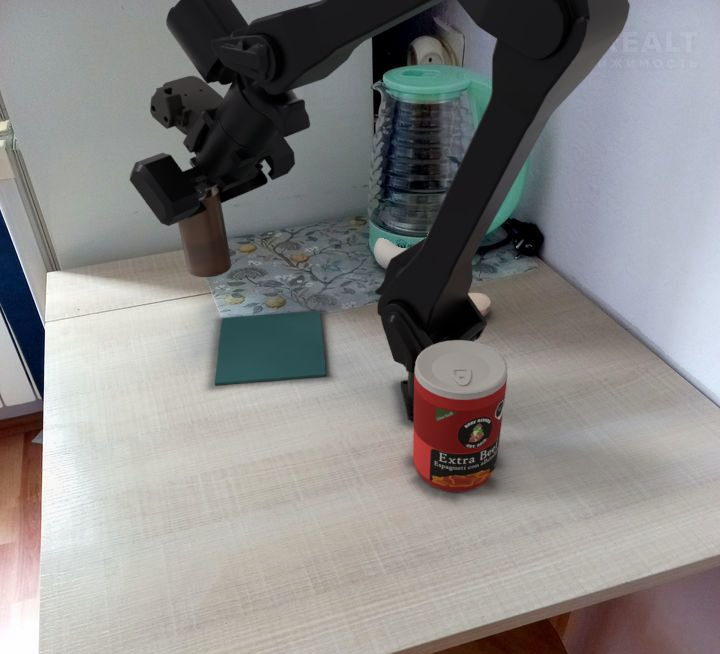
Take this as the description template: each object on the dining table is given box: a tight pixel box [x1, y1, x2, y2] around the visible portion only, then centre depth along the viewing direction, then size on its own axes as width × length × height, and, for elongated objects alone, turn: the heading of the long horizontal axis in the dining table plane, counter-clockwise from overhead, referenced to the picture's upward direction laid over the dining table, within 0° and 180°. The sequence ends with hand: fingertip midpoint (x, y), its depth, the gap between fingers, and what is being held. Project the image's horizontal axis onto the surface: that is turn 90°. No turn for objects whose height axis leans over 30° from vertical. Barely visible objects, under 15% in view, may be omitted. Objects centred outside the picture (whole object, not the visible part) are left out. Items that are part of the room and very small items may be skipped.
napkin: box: [214, 310, 327, 386], centre depth 82 cm, size 14×12×1 cm
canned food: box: [412, 340, 508, 493], centre depth 62 cm, size 8×8×11 cm
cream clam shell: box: [468, 292, 492, 318], centre depth 85 cm, size 4×5×2 cm
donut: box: [373, 237, 408, 270], centre depth 96 cm, size 10×4×10 cm
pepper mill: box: [177, 187, 232, 278], centre depth 81 cm, size 5×5×11 cm
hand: (191, 211), depth 81 cm, fingers closed on pepper mill, 5 cm apart
